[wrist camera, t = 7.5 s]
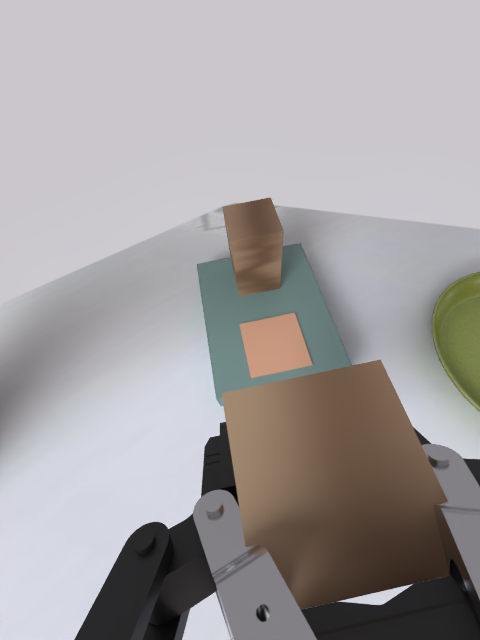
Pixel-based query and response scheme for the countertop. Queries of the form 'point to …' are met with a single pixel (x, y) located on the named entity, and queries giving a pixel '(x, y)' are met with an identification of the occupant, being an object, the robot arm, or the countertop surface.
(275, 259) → the walnut column
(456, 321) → the saucer
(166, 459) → the countertop surface
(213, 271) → the build board
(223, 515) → the robot arm
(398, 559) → the walnut block
